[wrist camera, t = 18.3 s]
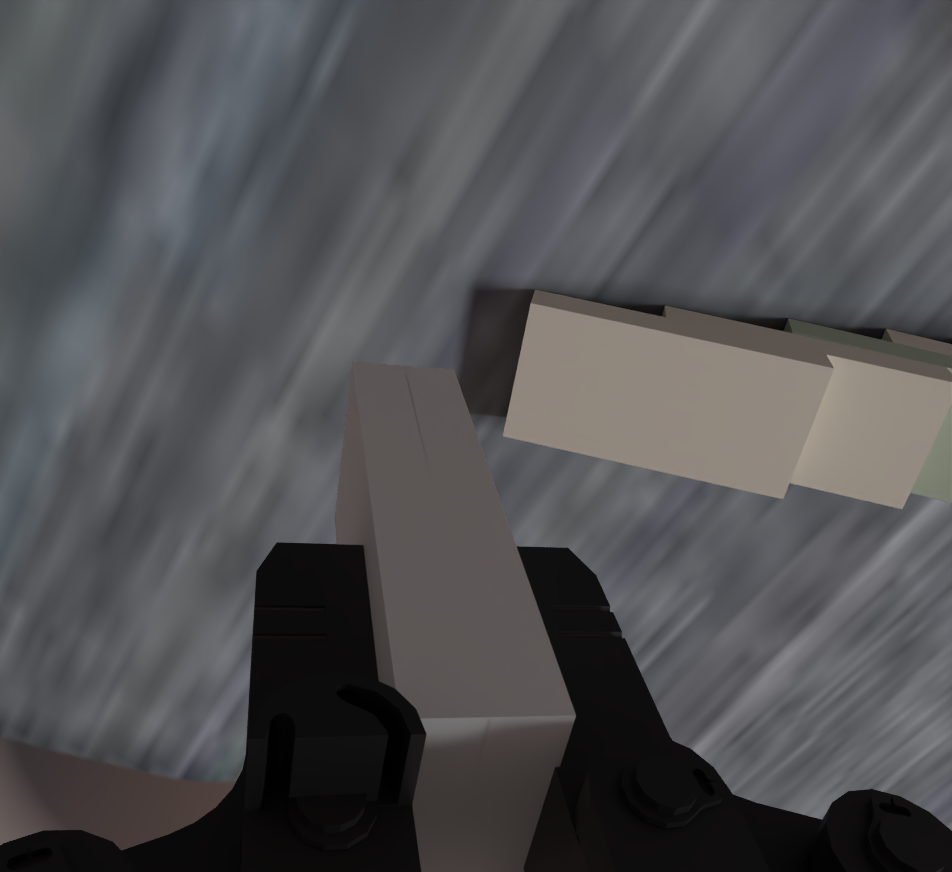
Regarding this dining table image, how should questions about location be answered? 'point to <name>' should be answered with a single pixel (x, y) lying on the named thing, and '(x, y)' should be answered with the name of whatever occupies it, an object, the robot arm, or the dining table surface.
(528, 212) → the dining table surface
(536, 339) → the domino
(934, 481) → the domino
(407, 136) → the dining table surface
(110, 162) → the dining table surface
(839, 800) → the robot arm
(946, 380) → the domino
